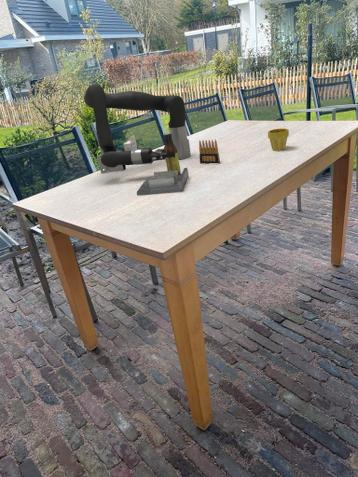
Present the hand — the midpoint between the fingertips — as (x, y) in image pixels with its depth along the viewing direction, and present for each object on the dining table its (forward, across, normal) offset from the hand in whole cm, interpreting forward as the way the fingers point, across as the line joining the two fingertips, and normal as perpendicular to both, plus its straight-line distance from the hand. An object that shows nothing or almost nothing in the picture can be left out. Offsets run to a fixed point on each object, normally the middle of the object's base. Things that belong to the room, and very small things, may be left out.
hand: (176, 152), depth 174 cm
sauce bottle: (-2, 0, +11) cm, 11 cm away
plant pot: (+49, +29, +11) cm, 58 cm away
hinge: (-40, +19, +11) cm, 45 cm away
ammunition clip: (+14, +15, +11) cm, 23 cm away
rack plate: (-4, -16, +10) cm, 20 cm away
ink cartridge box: (-33, +36, +11) cm, 50 cm away
